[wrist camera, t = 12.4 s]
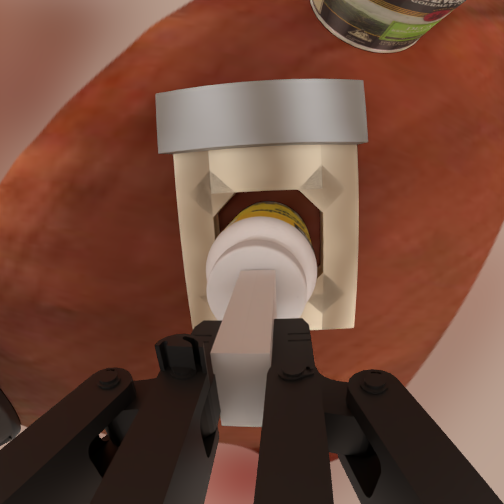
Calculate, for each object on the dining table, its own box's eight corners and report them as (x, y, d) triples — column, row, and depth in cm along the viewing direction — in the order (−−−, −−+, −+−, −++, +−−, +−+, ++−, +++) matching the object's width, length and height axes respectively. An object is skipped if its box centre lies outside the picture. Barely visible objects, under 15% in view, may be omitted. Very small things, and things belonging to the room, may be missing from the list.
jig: (198, 320, 28) (183, 350, 23) (178, 105, 23) (155, 93, 18) (349, 316, 26) (361, 347, 22) (347, 95, 22) (363, 80, 17)
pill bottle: (324, 230, 25) (352, 281, 14) (278, 291, 26) (272, 373, 16) (257, 183, 24) (237, 200, 14) (214, 248, 26) (168, 307, 15)
